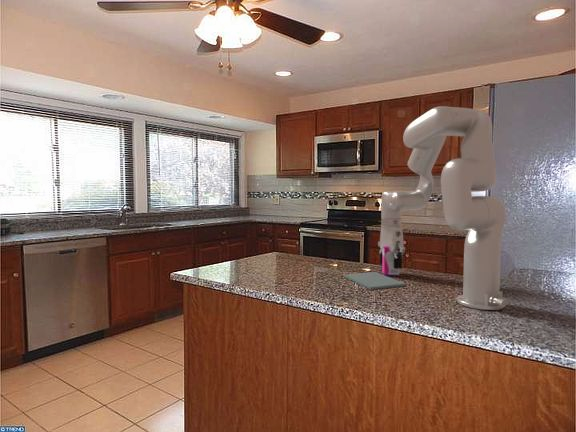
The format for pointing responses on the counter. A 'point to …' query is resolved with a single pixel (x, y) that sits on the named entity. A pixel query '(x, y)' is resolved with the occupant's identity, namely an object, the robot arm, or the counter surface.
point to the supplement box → (388, 263)
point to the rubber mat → (374, 280)
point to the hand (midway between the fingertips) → (390, 265)
